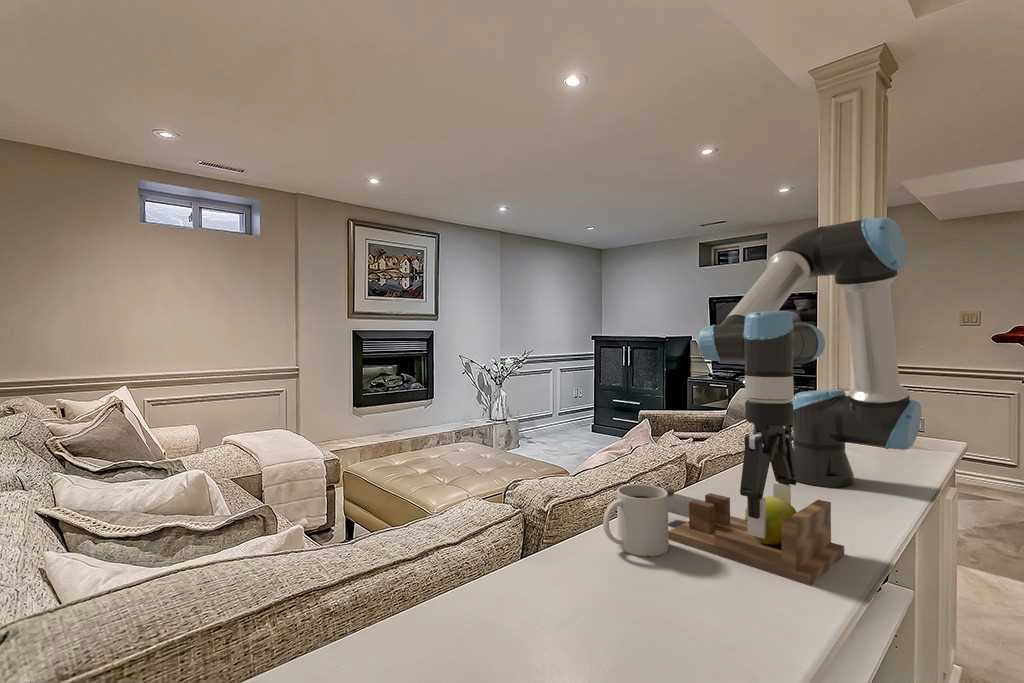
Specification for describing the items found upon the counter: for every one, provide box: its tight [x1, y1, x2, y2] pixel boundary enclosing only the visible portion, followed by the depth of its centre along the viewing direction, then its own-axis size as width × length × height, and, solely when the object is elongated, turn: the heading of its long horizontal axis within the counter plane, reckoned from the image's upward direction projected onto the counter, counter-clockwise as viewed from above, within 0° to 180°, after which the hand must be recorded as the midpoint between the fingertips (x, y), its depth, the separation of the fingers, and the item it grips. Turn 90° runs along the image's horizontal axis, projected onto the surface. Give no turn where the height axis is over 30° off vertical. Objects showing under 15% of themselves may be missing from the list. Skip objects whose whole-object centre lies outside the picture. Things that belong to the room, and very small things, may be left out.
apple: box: [744, 495, 798, 545], centre depth 88 cm, size 8×9×8 cm
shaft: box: [663, 487, 714, 519], centre depth 100 cm, size 4×10×4 cm, turn 41°
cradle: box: [668, 492, 845, 586], centre depth 91 cm, size 16×24×8 cm, turn 41°
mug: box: [602, 483, 670, 557], centre depth 91 cm, size 11×10×10 cm
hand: (769, 527), depth 88 cm, fingers open, 10 cm apart
